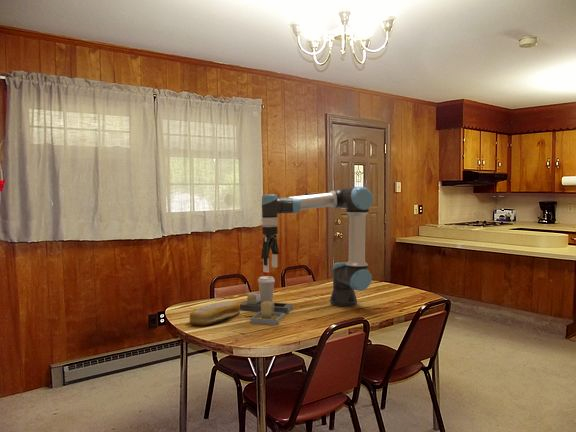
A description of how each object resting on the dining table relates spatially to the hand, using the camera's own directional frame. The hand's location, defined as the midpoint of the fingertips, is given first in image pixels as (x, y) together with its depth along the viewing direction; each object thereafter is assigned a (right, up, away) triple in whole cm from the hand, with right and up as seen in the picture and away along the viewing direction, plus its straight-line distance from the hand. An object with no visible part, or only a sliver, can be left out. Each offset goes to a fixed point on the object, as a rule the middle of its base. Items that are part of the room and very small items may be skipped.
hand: (270, 269), depth 214 cm
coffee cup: (-4, -23, +31) cm, 39 cm away
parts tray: (-1, -24, -1) cm, 24 cm away
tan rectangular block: (-1, -24, -1) cm, 24 cm away
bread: (-27, -25, 0) cm, 36 cm away
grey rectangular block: (-10, -23, +17) cm, 30 cm away
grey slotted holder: (-3, -24, +15) cm, 28 cm away
